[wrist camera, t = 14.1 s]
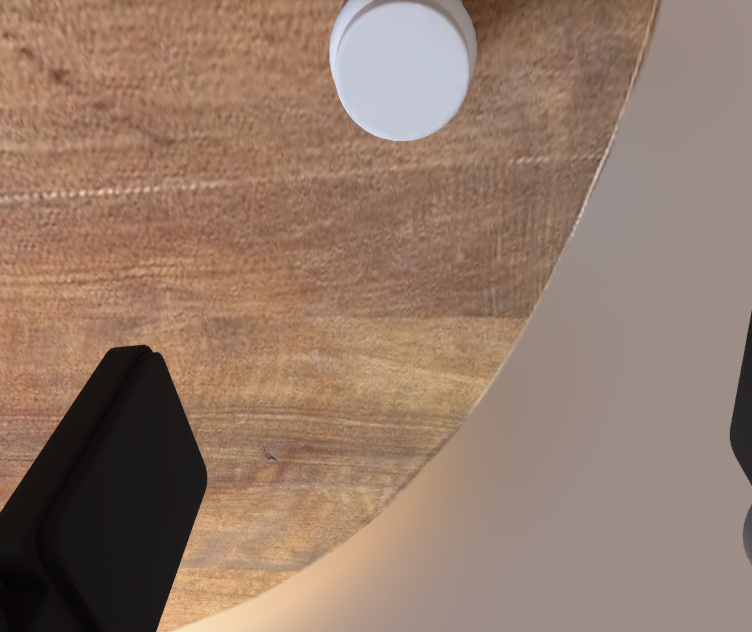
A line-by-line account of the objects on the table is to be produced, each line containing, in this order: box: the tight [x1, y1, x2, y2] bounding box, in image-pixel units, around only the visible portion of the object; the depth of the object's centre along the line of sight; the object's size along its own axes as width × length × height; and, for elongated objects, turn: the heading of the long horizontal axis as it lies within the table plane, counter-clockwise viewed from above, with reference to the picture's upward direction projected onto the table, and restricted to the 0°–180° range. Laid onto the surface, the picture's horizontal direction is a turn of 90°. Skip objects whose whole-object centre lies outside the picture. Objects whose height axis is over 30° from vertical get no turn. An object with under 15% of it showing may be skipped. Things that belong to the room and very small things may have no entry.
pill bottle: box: [329, 0, 477, 141], centre depth 23 cm, size 5×5×8 cm
